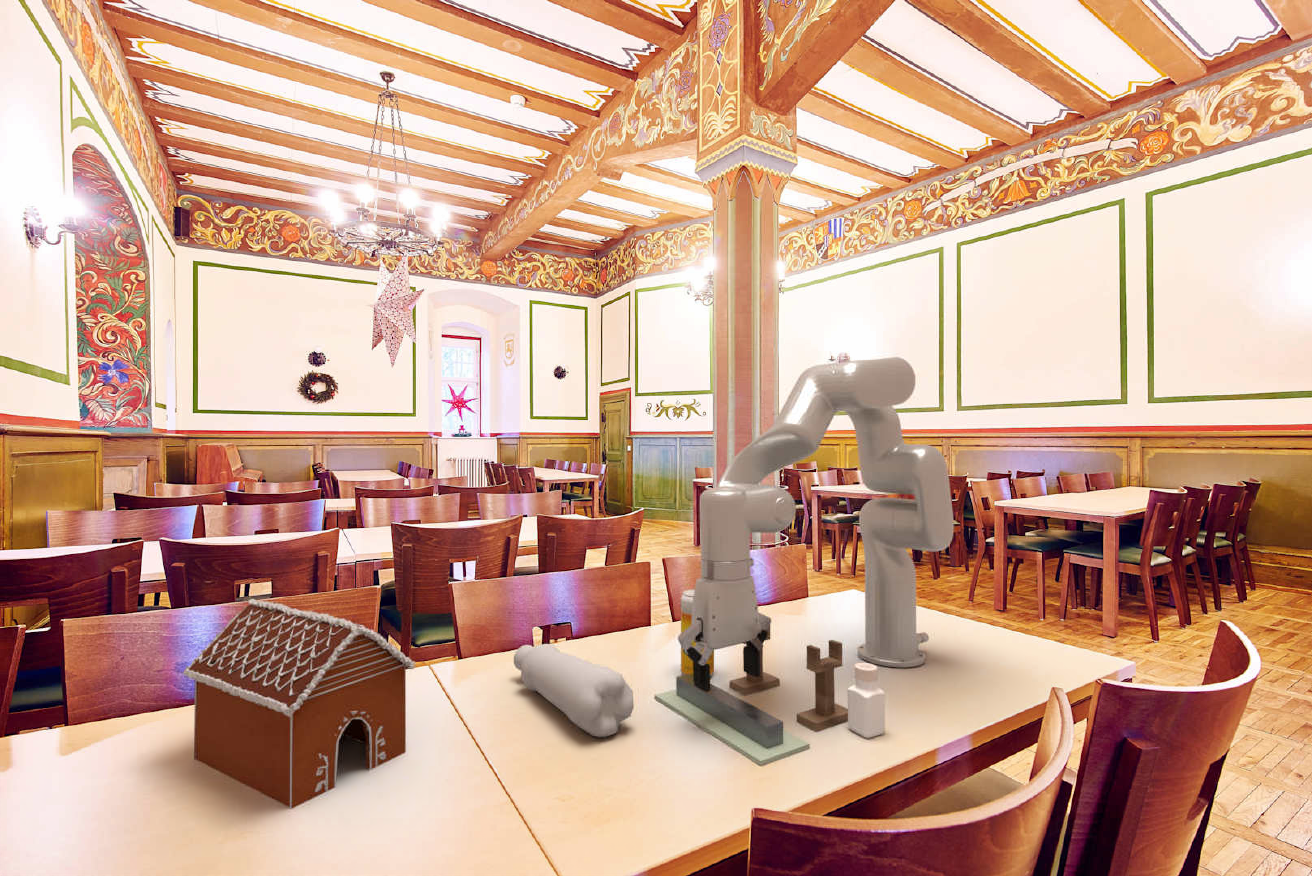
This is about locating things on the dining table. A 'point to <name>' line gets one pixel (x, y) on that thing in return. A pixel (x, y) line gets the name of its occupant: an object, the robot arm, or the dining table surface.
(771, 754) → the board
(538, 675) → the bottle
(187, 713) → the dining table surface
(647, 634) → the dining table surface
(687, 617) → the beer can
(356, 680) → the gingerbread house
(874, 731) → the salt shaker
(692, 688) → the rail
